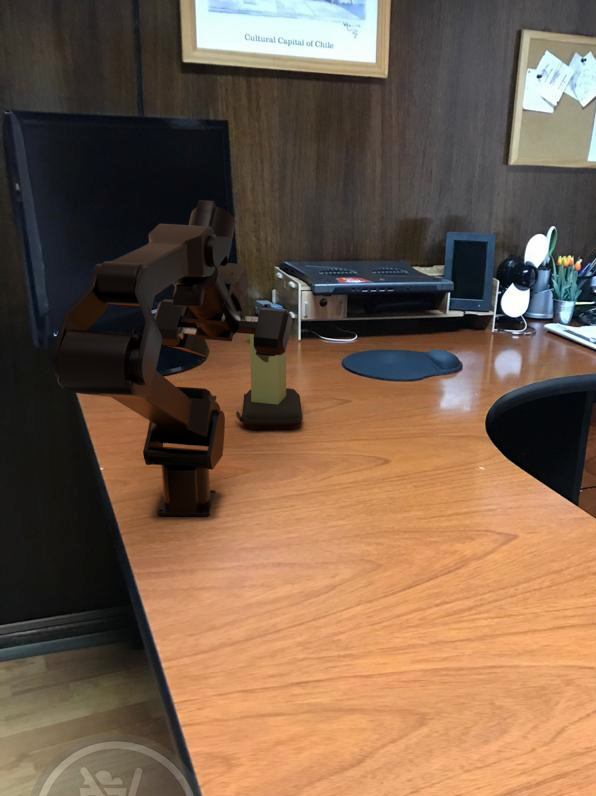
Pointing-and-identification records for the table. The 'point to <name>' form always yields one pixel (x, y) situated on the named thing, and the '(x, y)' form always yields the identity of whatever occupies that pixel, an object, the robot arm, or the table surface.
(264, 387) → the block
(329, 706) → the table surface
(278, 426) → the carrying case
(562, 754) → the table surface
